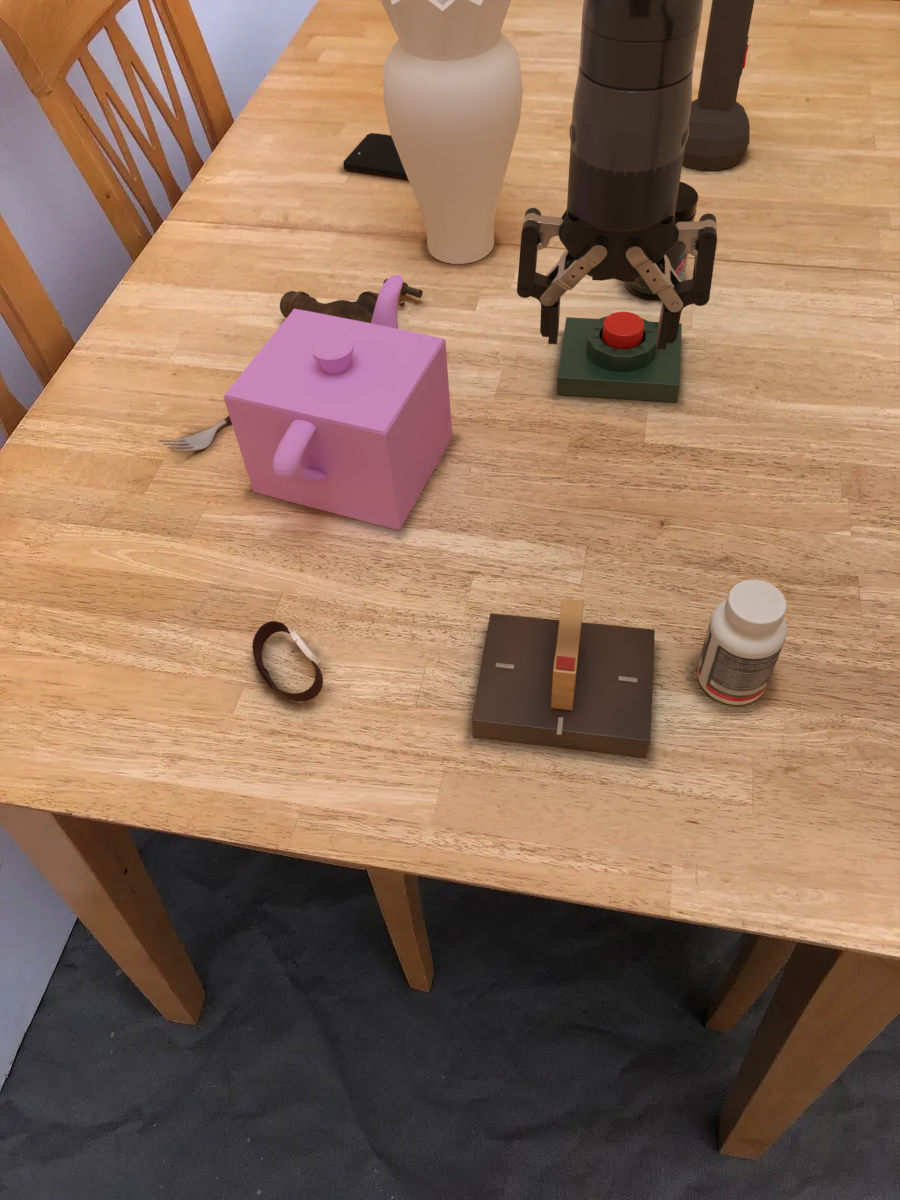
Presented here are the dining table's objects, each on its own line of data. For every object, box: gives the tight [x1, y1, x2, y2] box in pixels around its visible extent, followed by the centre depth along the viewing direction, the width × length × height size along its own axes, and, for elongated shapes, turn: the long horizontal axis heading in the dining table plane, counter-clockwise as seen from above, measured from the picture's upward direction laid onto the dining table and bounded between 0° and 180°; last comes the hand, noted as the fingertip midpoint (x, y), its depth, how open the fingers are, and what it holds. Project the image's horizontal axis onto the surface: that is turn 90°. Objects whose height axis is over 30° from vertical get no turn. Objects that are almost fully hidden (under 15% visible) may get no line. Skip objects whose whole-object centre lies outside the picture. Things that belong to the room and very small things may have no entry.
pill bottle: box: [696, 579, 788, 706], centre depth 68 cm, size 5×5×10 cm
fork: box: [158, 415, 232, 453], centre depth 93 cm, size 3×16×2 cm, turn 135°
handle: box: [551, 598, 585, 710], centre depth 68 cm, size 6×2×5 cm, turn 170°
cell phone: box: [342, 132, 408, 180], centre depth 123 cm, size 9×18×1 cm, turn 68°
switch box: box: [556, 315, 683, 403], centre depth 94 cm, size 12×10×4 cm
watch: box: [251, 620, 324, 703], centre depth 73 cm, size 8×5×4 cm, turn 35°
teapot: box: [223, 274, 453, 531], centre depth 84 cm, size 15×25×14 cm, turn 158°
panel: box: [471, 612, 656, 758], centre depth 71 cm, size 13×11×3 cm
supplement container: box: [624, 181, 699, 300], centre depth 100 cm, size 7×7×10 cm
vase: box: [380, 0, 524, 265], centre depth 100 cm, size 15×15×29 cm
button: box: [602, 311, 644, 350], centre depth 92 cm, size 4×4×2 cm
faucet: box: [279, 278, 424, 323], centre depth 100 cm, size 5×17×15 cm
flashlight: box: [682, 0, 755, 172], centre depth 111 cm, size 10×25×10 cm
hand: (606, 340), depth 74 cm, fingers open, 8 cm apart
